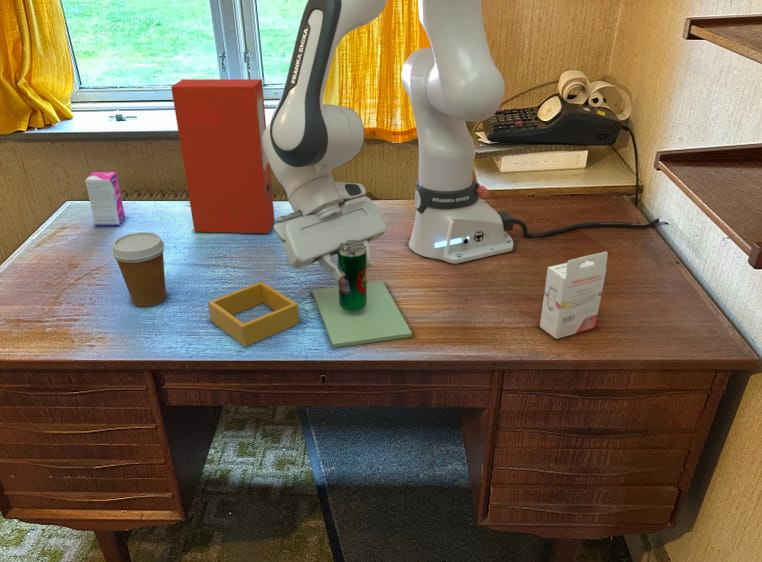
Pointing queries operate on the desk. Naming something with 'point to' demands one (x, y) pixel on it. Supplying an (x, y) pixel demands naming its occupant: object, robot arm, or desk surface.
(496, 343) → the desk surface
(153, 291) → the disposable coffee cup
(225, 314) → the frame
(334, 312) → the green mat
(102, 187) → the supplement box
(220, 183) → the file binder
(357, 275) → the soda can
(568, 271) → the ink cartridge box
